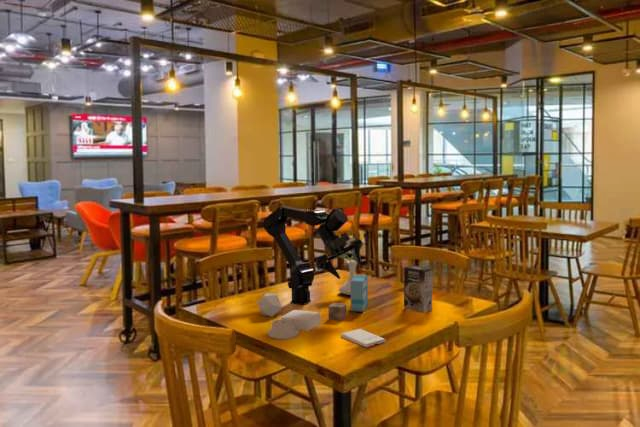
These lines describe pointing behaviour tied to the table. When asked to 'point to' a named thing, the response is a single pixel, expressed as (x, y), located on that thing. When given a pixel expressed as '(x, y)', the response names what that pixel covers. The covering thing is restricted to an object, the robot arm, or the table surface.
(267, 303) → the die
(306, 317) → the grey block
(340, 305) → the grey cube
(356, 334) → the external hard drive
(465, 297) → the table surface
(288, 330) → the mechanical component
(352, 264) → the flower in vase
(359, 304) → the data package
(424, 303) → the coffee box
